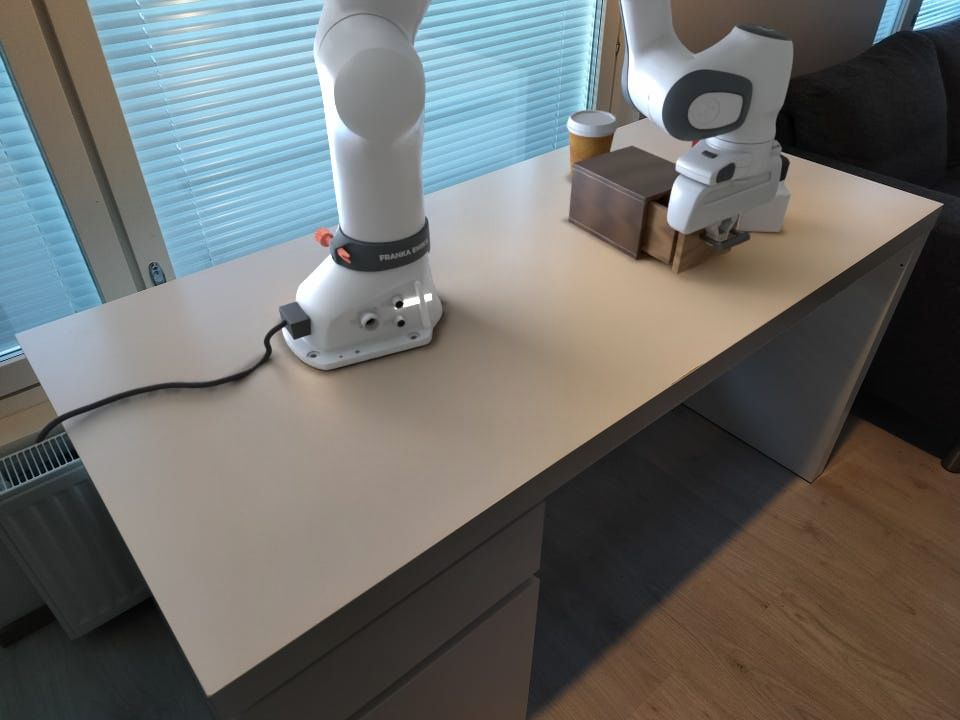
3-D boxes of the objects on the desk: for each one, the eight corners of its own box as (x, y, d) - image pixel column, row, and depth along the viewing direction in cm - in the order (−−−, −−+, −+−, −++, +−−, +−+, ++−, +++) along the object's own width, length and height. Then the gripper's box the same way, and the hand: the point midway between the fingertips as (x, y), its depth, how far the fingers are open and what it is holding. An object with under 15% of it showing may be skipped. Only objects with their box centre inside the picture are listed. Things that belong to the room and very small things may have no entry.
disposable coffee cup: (619, 175, 135) (626, 114, 128) (599, 192, 129) (606, 129, 122) (575, 165, 139) (580, 105, 132) (554, 182, 133) (558, 120, 126)
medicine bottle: (770, 214, 121) (788, 148, 114) (780, 233, 116) (800, 165, 108) (729, 212, 122) (744, 147, 115) (736, 231, 116) (753, 163, 109)
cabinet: (694, 236, 115) (706, 176, 109) (636, 259, 109) (645, 198, 103) (624, 201, 126) (632, 145, 119) (568, 221, 120) (573, 163, 113)
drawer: (755, 263, 106) (769, 211, 101) (701, 288, 101) (713, 234, 95) (659, 215, 119) (667, 167, 114) (606, 235, 114) (612, 185, 108)
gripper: (765, 131, 101) (743, 216, 110) (667, 162, 92) (652, 252, 101) (802, 143, 97) (776, 231, 106) (704, 177, 88) (685, 270, 97)
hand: (715, 242), depth 103 cm, fingers closed
